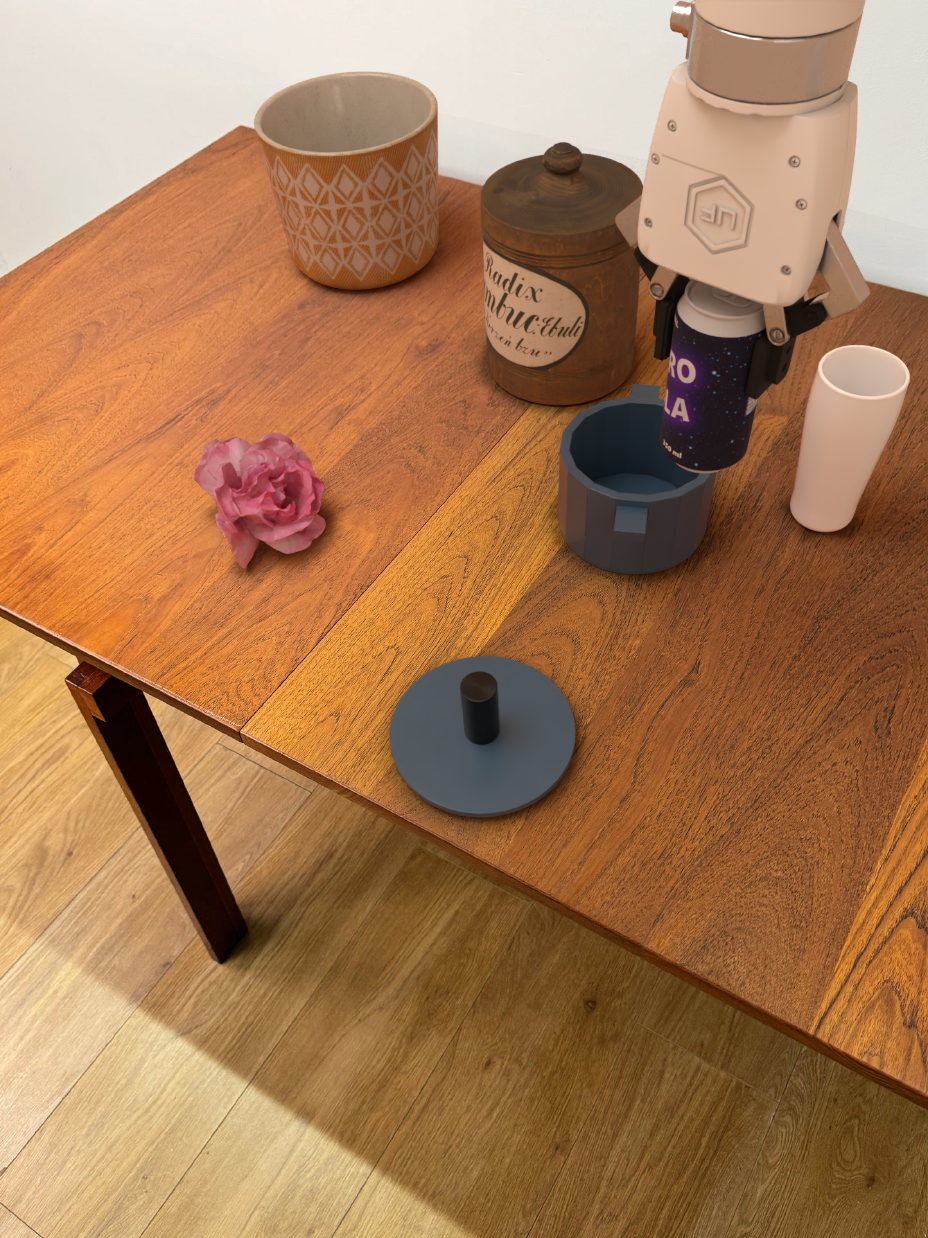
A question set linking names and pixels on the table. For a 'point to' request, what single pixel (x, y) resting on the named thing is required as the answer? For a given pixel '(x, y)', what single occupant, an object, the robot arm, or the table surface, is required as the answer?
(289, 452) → the flower
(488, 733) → the pot lid
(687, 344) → the beverage can
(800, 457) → the drinking glass
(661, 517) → the pot
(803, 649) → the table surface
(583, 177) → the wooden container
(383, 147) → the planter
